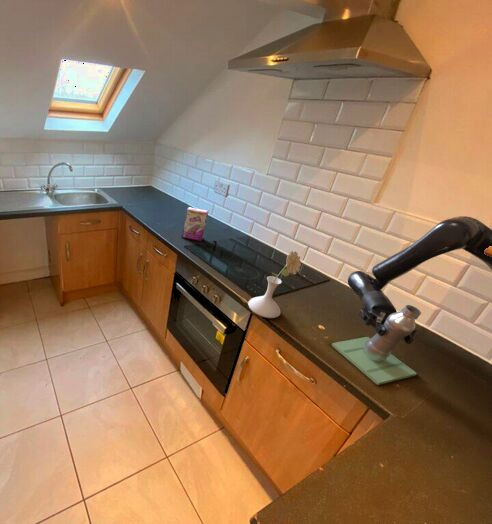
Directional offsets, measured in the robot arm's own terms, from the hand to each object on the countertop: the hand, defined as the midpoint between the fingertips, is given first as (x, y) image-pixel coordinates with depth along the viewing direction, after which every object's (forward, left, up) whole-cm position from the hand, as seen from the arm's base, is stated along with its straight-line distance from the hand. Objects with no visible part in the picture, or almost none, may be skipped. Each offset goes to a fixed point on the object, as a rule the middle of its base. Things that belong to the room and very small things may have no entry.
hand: (396, 337), depth 85 cm
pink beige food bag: (+15, -97, -12) cm, 99 cm away
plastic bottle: (-2, -3, -11) cm, 12 cm away
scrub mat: (-2, -3, -12) cm, 13 cm away
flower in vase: (+17, -31, -12) cm, 38 cm away
